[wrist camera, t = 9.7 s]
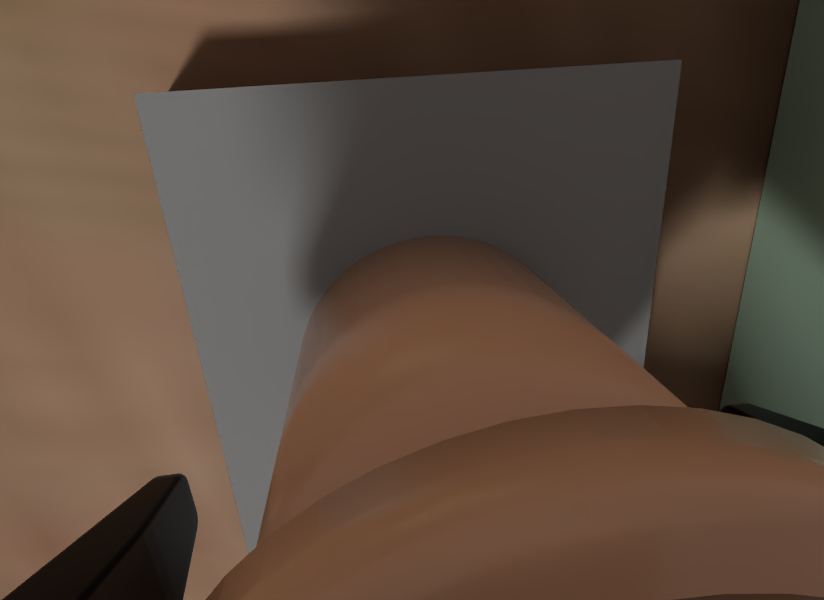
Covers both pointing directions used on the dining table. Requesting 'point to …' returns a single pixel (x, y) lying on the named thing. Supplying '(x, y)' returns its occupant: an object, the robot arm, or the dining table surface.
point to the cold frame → (788, 249)
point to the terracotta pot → (513, 456)
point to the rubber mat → (398, 208)
